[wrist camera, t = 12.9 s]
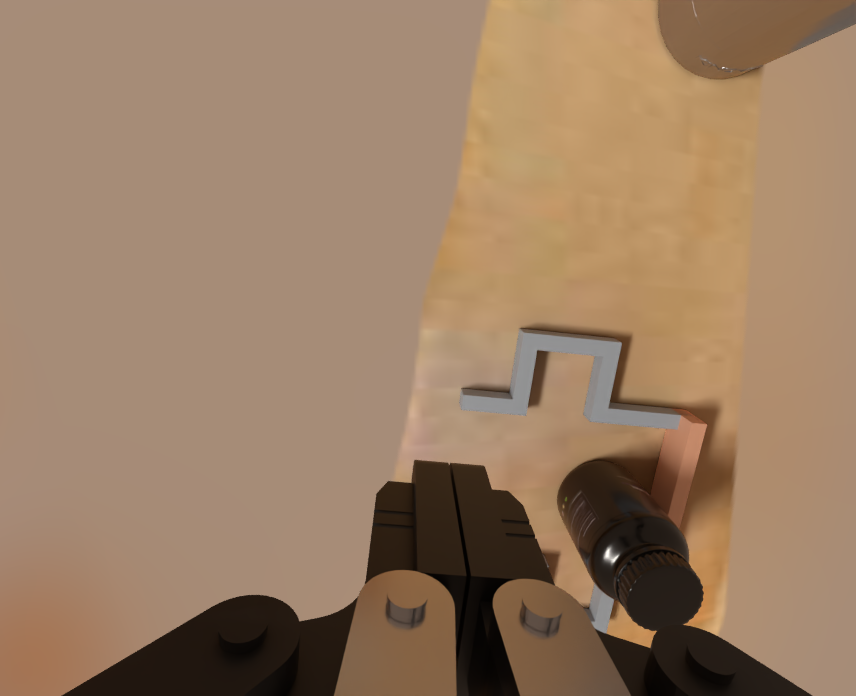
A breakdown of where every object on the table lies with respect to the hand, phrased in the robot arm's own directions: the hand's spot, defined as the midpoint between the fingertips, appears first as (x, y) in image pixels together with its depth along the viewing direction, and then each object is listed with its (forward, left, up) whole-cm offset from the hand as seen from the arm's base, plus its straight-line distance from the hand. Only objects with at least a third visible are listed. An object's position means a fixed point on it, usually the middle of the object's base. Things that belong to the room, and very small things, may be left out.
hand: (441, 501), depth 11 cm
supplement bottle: (+14, +16, -27) cm, 35 cm away
